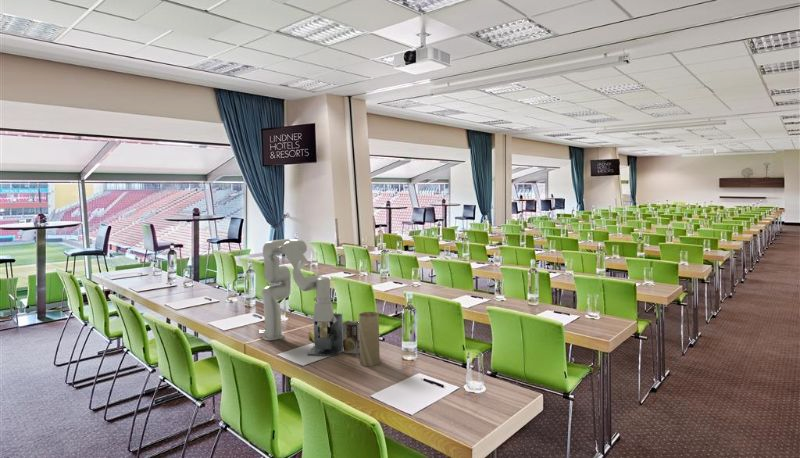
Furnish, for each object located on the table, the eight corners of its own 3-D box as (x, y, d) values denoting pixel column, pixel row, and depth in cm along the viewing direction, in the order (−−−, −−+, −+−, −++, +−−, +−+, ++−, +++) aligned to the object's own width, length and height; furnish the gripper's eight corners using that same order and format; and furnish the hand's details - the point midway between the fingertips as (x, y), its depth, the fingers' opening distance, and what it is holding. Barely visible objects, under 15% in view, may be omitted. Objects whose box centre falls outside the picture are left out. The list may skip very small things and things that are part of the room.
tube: (366, 367, 237) (365, 318, 235) (356, 361, 245) (355, 314, 243) (383, 363, 243) (382, 314, 240) (372, 357, 251) (371, 310, 249)
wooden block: (320, 341, 258) (319, 315, 257) (322, 338, 262) (321, 313, 261) (327, 341, 257) (326, 315, 256) (329, 338, 261) (328, 313, 260)
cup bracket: (307, 355, 255) (306, 320, 254) (315, 345, 271) (314, 313, 269) (336, 356, 253) (335, 321, 252) (343, 346, 269) (342, 313, 268)
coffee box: (362, 350, 262) (362, 321, 261) (358, 354, 256) (357, 324, 255) (347, 348, 265) (347, 320, 264) (342, 352, 259) (341, 323, 258)
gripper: (306, 301, 255) (307, 335, 257) (337, 302, 253) (338, 335, 255) (310, 298, 262) (311, 331, 264) (340, 298, 261) (341, 331, 262)
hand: (324, 333), depth 259 cm, fingers closed on wooden block, 4 cm apart
